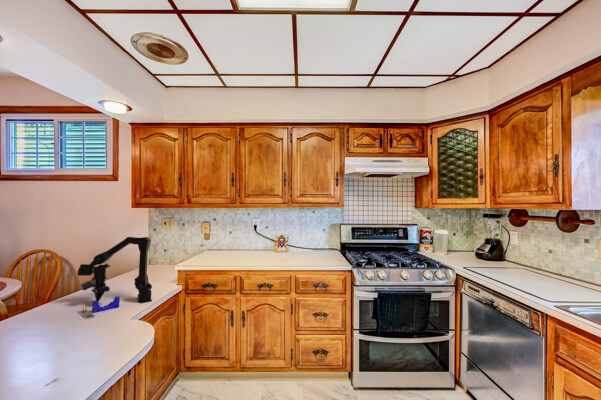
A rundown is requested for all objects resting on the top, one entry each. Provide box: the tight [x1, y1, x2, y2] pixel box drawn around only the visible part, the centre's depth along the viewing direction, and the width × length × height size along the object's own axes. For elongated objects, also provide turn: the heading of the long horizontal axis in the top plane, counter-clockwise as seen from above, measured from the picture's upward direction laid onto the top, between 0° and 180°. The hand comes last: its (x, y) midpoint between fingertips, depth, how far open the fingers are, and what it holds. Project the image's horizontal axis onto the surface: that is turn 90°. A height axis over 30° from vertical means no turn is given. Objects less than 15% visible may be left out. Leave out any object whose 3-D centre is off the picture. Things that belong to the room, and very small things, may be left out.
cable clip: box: [91, 295, 121, 314], centre depth 148 cm, size 12×4×6 cm, turn 146°
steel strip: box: [76, 305, 96, 320], centre depth 139 cm, size 4×16×4 cm, turn 51°
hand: (97, 301), depth 157 cm, fingers closed
